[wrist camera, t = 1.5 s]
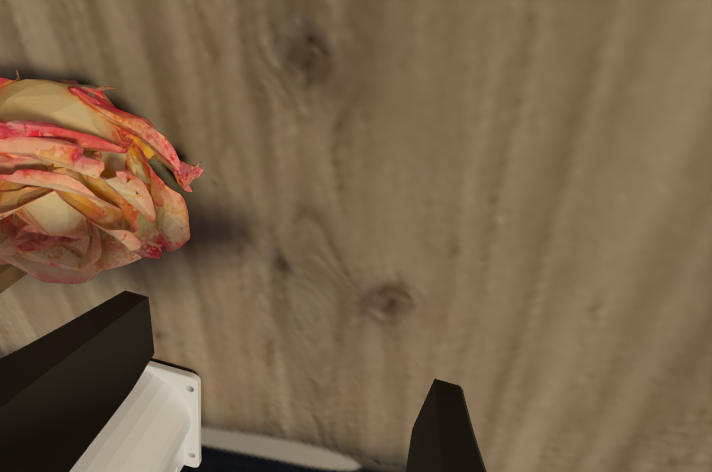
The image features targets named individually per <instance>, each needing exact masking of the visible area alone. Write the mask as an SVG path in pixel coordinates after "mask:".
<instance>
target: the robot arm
mask: <svg viewBox="0 0 712 472" xmlns="http://www.w3.org/2000/svg"><path fill="white" fill-rule="evenodd" d="M153 354H154V344H153V335H152V326H151V316H150V307H149V298H148V297H146V296H143V295H139V294H136V293H132V292H129V291H124V292H122V293H120V294H118V295H116V296H115V297H113V298H111V299H109V300H107V301H106V302H104V303H102V304H100V305H99V306H97V307H95V308H93V309H91V310H90V311H88V312H86V313H84V314H83V315H81V316H79V317H77V318H76V319H74V320H72V321H70V322H68V323H67V324H65V325H63V326H61V327H60V328H58V329H56V330H54V331H52V332H50V333H49V334H47V335H45V336H43V337H41V338H39V339H38V340H36V341H34V342H32V343H30V344H28V345H27V346H25V347H23V348H21V349H19V350H17V351H15V352H13V353H11V354H9V355H7V356H5V357H3V358H1V359H0V472H180V471H181V469H182V467H183V465H187V466H190V467H198V466H199V464H200V462H201V380H200V378H199V376H198V375H196V374H194V373H192V372H188V371H185V370H181V369H178V368H174V367H171V366H167V365H164V364H160V363H157V362H153V361H150V360H151V358H152V356H153ZM406 472H486V469H485V466H484V463H483V460H482V457H481V454H480V451H479V448H478V444H477V441H476V438H475V434H474V431H473V428H472V424H471V420H470V417H469V413H468V409H467V405H466V401H465V397H464V393H463V390H462V388H461V387H460V386H458V385H455V384H451V383H448V382H444V381H441V380H437V379H434V381H433V384H432V386H431V388H430V390H429V393H428V395H427V397H426V399H425V402H424V404H423V406H422V408H421V410H420V413H419V415H418V417H417V419H416V422H415V424H414V426H413V428H412V435H411V441H410V448H409V454H408V461H407V468H406Z"/></svg>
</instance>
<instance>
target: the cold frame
mask: <svg viewBox="0 0 712 472" xmlns="http://www.w3.org/2000/svg"><path fill="white" fill-rule="evenodd" d="M26 274H27V272H25V271H23V270H21V269H19V268H17V267H16V266H14V265H12V264H5V265H0V293H1V292H3V291H4V290H5V289H7V288H8V287H9V286H11V285H12V284H14V283H15V282H16V281H18V280H19V279H20V278H22V277H23V276H25V275H26Z"/></svg>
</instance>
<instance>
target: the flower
mask: <svg viewBox="0 0 712 472" xmlns="http://www.w3.org/2000/svg"><path fill="white" fill-rule="evenodd" d="M16 74H17V78H16V80H15V79H7V78H2V77H0V265H5V264H12V265H14V266H16V267H17V268H19V269H21V270H23V271H25V272H27V273H29V274H31V275H32V276H34V277H36V278H38V279H40V280H42V281H44V282H47V283H66V284H76V283H84V282H87V281H89V280H92V279H93V278H94V277H95V276H96V275H97V274H99V273H100V272H101V271H102V270H109V269H113V268H116V267H120V266H124V265H127V264H130V263H133V262H135V261H137V260H139V259H141V258H143V257H149V258H155V259H159V258H161V256H162V251H163V246H164V247H165V249H166V250H167V251H168V252H172V251H174V250H177V249H179V248H180V247H181V246H183V245H184V244H185V243H186V242H187V241H188V240H189V239H190V227H189V215H188V209H187V206H186V203H185V200H184V198H183V197H182V196H181V195H180V194H179V193H177V192H175V191H173V190H171V189H170V188H169V187H167V186H166V185H165V184H164V182H163V181H162V180H161V179H160V178H159V177H158V176H157V175H156V174H155V173H154V171H153V170H152V169H151V167H150V166H149V164H148V160H149V159H150V158H151V157H152V158H153V159H155V160H157V161H158V162H161V163H162V164H164V165H165V166H167V167H168V168H169V169H170V171H171V172H172V173H173V175H174V177H175V179H176V180H177V182H178V184H179V185H180V186H181V187H182V189H183V190H184V191H185V192H187V191H189V192H192V187H191V186H190V183H191V182H192V180H193V179H195V178H198V177H199V176H200V175H201V173H202V172H203V171H204V169H201V168H199V167H198V165H199V164H200V162H199V163H198V164H197V165H196V166H195V165H190V164H186V163H184V162H182V161H180V160H179V158H178V156H177V154H176V152H175V149H174V148H173V146H172V145H171V144H170V143H169V141H168V140H167V139H166V138H165V137H164V136H163V135H161V134H160V133H158V132H157V131H156V130H155V128H154V127H153V125H152V123H150V122H149V121H148V120H146V119H145V118H142V117H139V116H136V115H133V114H130V113H127V112H124V111H121V110H118V109H117V108H116V107H115V106H114V105H113V104H112V103H111V102H110V100H109V99H108V98H107V97H106V95H105V94H104V92H103V90H106V89H118V88H112V87H105V86H104V87H100V86H97V85H80V83H79V82H78V81H77V80H68V79H61V83H58V82H54V81H50V80H38V79H24V80H23V79H21V78H20V76H19V75H18V70H16ZM181 228H182V229H183V230H182V229H181ZM185 233H186V234H185ZM141 256H142V257H141Z"/></svg>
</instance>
